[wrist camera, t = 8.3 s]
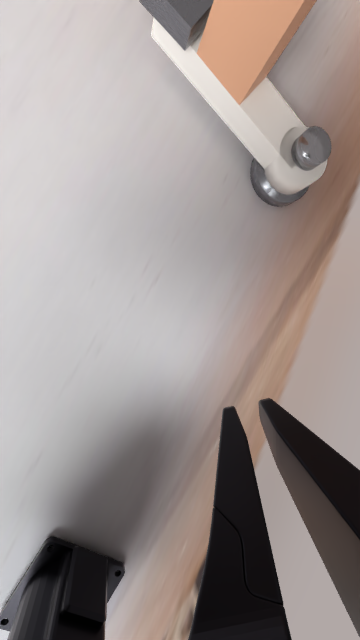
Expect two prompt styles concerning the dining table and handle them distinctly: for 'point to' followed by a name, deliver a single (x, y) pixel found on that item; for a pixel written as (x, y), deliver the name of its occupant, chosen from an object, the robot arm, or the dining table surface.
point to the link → (248, 79)
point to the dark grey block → (180, 17)
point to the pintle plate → (268, 188)
